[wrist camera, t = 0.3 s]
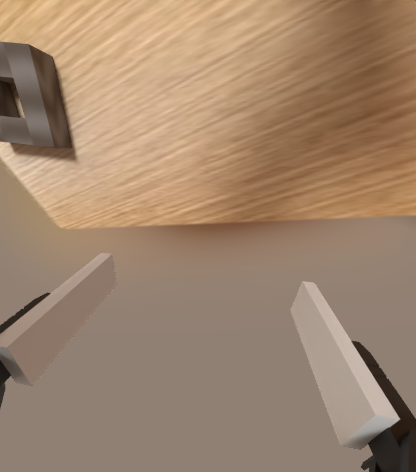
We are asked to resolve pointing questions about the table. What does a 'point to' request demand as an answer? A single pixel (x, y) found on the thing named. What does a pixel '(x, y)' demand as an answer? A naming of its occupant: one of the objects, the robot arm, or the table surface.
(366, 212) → the table surface
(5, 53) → the socket
